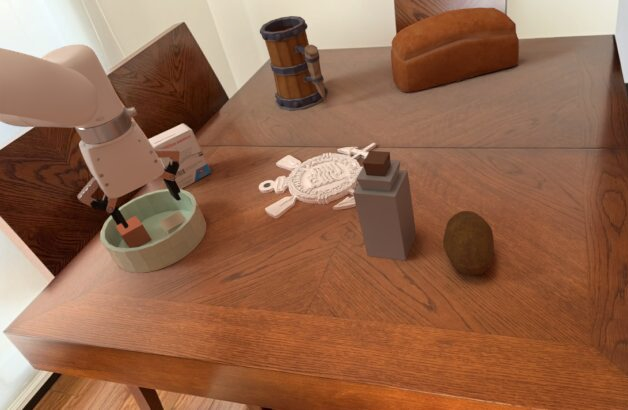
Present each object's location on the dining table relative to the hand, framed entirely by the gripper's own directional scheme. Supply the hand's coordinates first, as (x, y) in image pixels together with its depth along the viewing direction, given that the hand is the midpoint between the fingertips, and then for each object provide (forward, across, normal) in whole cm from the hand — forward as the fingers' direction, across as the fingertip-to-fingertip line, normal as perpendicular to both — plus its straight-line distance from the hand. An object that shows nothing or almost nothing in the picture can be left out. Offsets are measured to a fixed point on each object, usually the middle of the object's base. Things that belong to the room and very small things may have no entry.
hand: (151, 210), depth 89 cm
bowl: (+9, 0, -4) cm, 10 cm away
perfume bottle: (+9, -28, +32) cm, 43 cm away
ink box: (+9, -12, -19) cm, 24 cm away
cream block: (+8, -3, 0) cm, 9 cm away
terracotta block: (+8, +4, -6) cm, 11 cm away
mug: (+8, -50, -27) cm, 58 cm away
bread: (+8, -84, -4) cm, 84 cm away
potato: (+9, -34, +44) cm, 56 cm away
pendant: (+9, -32, +7) cm, 34 cm away
